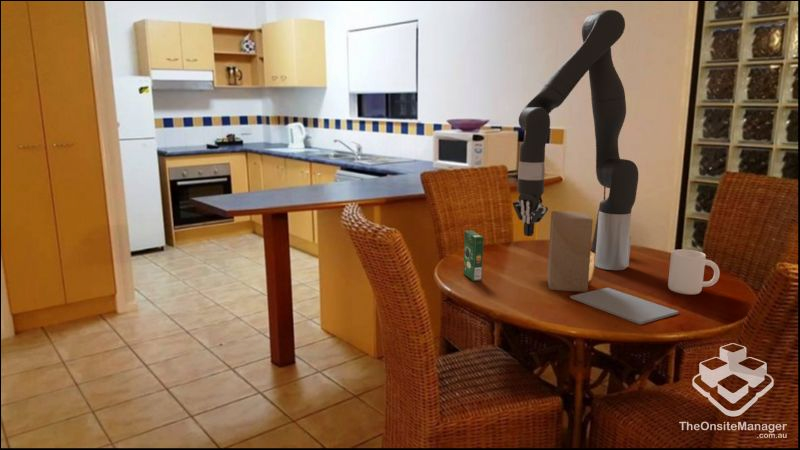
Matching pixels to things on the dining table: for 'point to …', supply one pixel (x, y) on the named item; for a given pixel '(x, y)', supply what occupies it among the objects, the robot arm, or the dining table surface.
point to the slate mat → (624, 305)
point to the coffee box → (473, 255)
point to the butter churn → (596, 231)
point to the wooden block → (569, 251)
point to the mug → (689, 271)
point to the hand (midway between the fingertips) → (528, 235)
